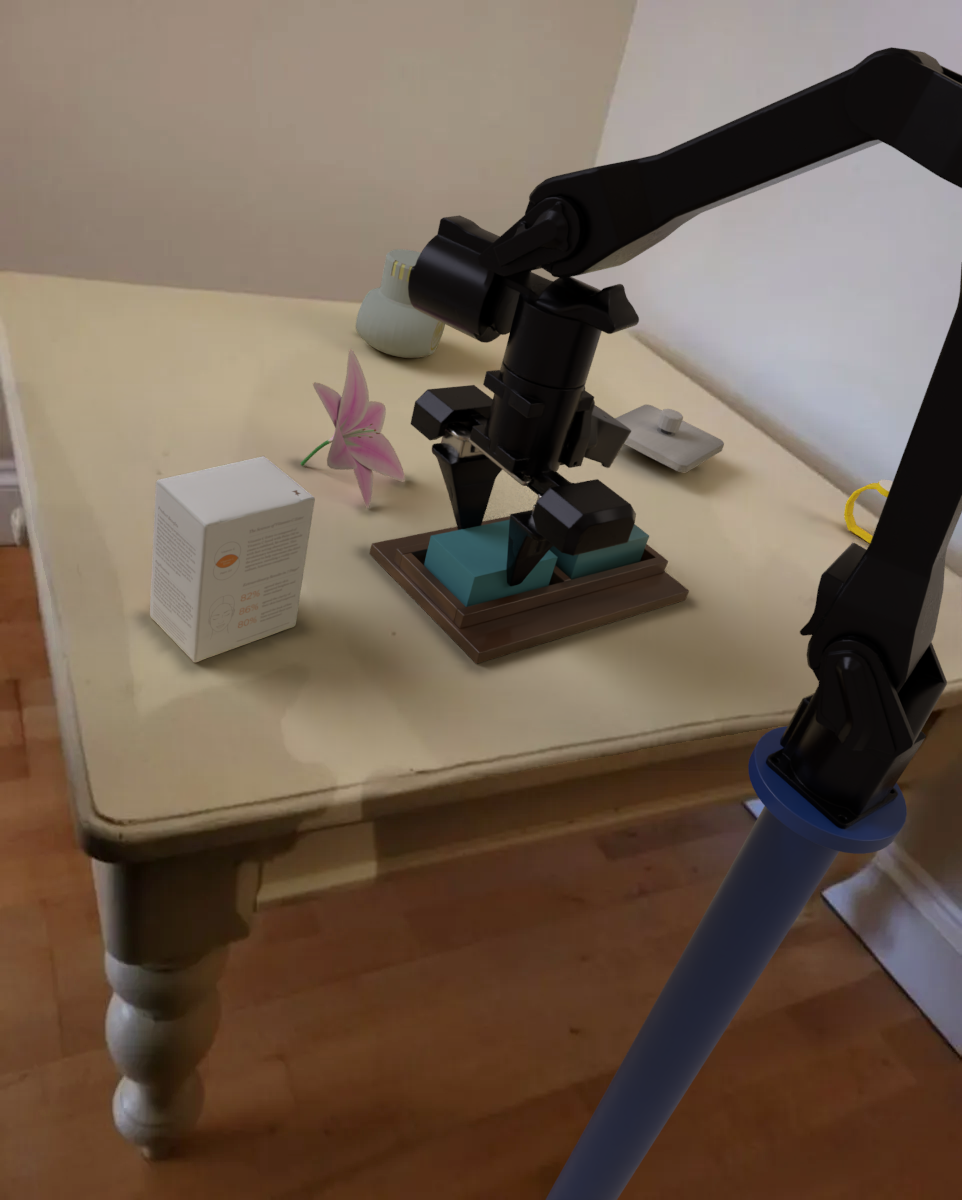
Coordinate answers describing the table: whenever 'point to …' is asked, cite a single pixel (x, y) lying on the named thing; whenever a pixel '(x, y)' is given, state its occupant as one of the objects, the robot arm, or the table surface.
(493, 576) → the pad
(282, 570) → the small box
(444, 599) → the brown two-compartment tray
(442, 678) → the table surface
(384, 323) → the air freshener
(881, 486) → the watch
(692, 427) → the light switch
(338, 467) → the lily
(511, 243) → the robot arm
